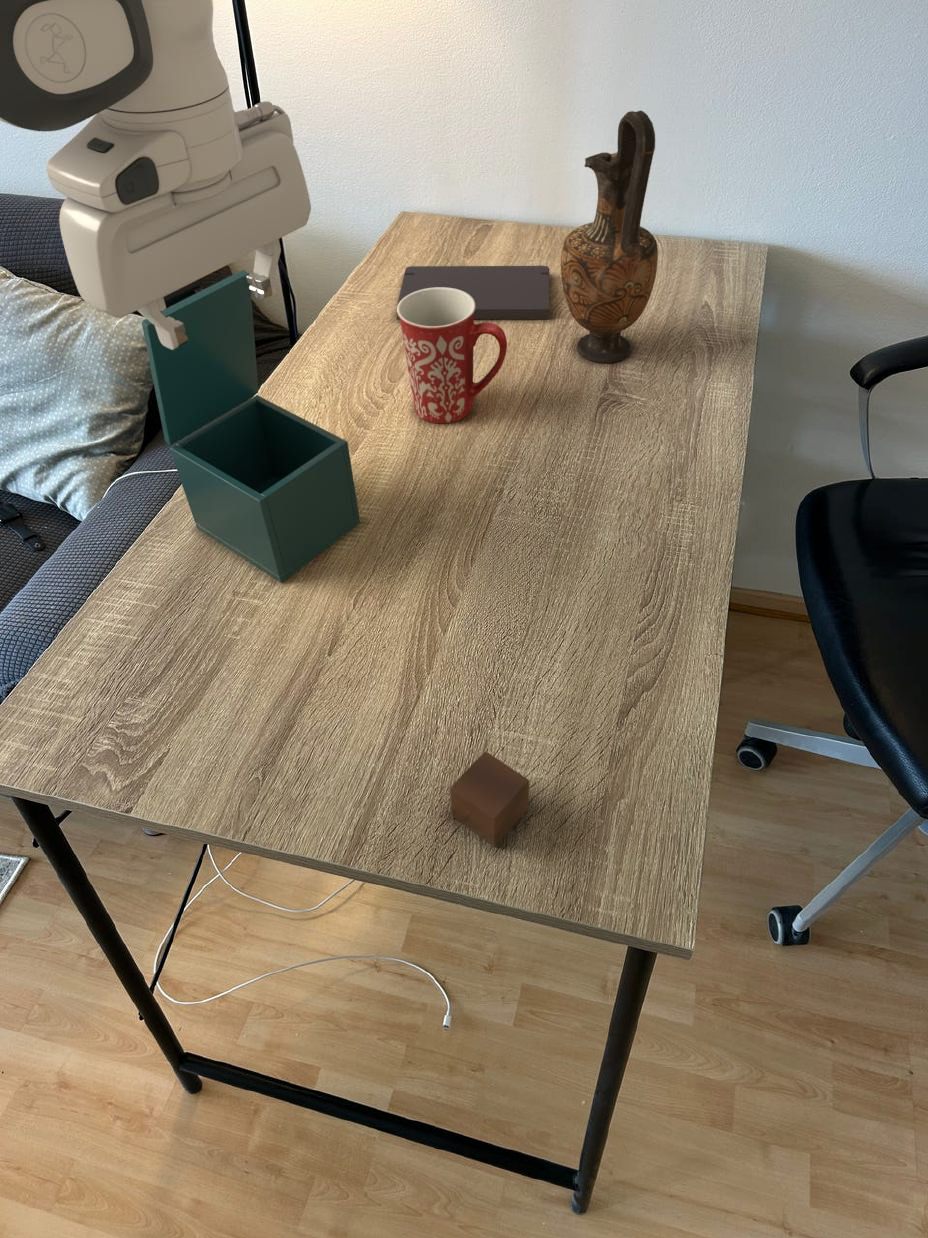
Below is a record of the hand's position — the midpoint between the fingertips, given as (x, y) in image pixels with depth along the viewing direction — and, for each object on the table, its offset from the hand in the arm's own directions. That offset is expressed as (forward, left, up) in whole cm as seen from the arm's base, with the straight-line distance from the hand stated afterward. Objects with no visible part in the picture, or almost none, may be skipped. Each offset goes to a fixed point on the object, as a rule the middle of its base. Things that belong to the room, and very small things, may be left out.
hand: (221, 319), depth 73 cm
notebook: (+1, +58, -28) cm, 64 cm away
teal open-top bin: (-3, +5, -28) cm, 28 cm away
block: (+30, -21, -28) cm, 46 cm away
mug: (+8, +31, -28) cm, 42 cm away
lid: (-8, +7, -9) cm, 14 cm away
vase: (+22, +49, -28) cm, 60 cm away
